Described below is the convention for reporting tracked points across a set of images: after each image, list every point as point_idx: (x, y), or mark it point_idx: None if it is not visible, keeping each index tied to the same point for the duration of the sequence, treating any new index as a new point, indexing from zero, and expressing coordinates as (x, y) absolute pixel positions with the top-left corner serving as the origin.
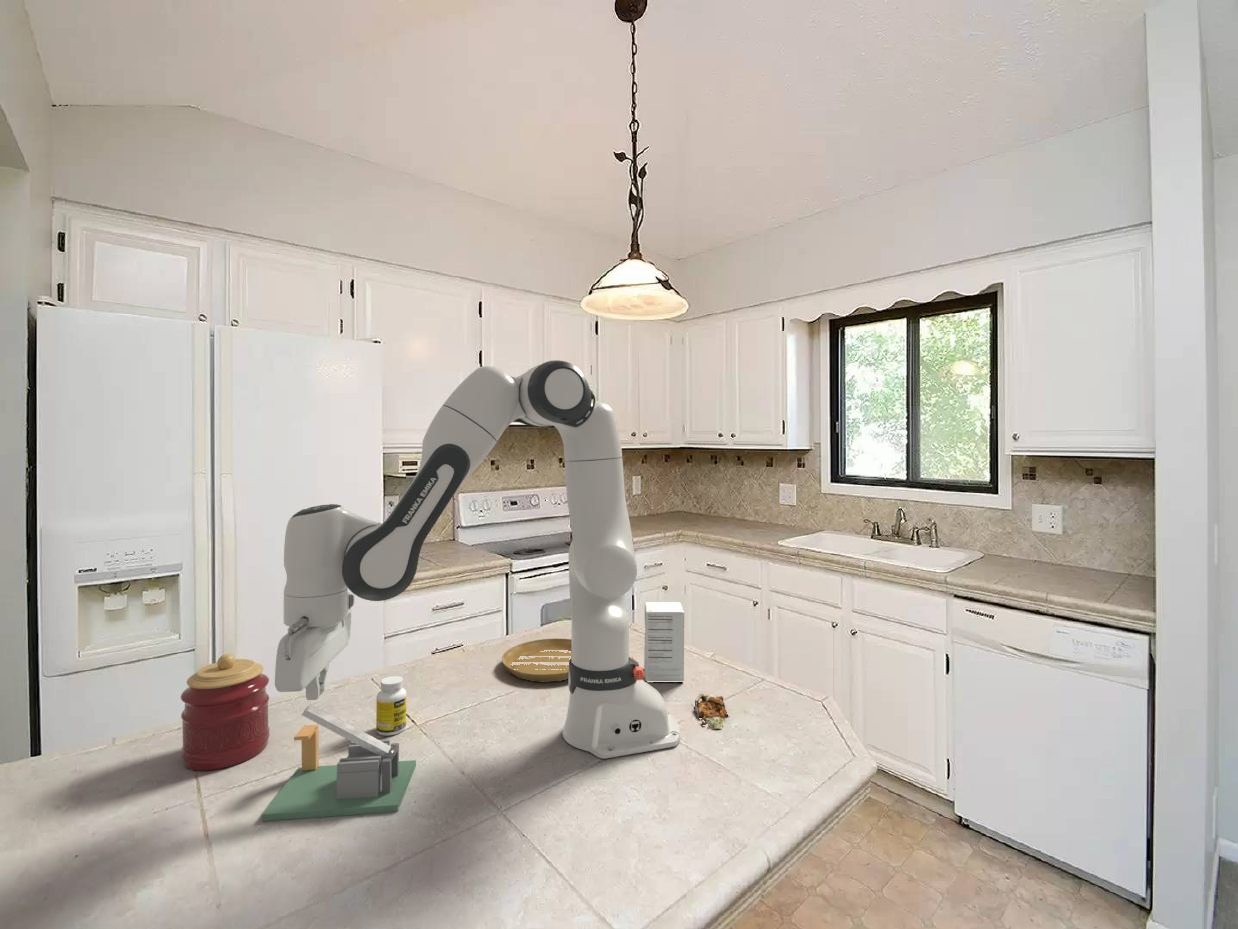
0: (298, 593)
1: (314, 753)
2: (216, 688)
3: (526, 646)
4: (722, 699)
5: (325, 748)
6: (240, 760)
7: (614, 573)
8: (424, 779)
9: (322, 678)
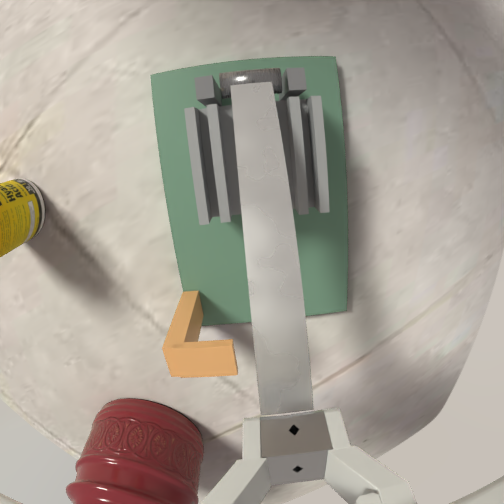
0: None
1: (193, 311)
2: None
3: None
4: None
5: (103, 309)
6: (175, 413)
7: None
8: (210, 38)
9: (255, 479)
